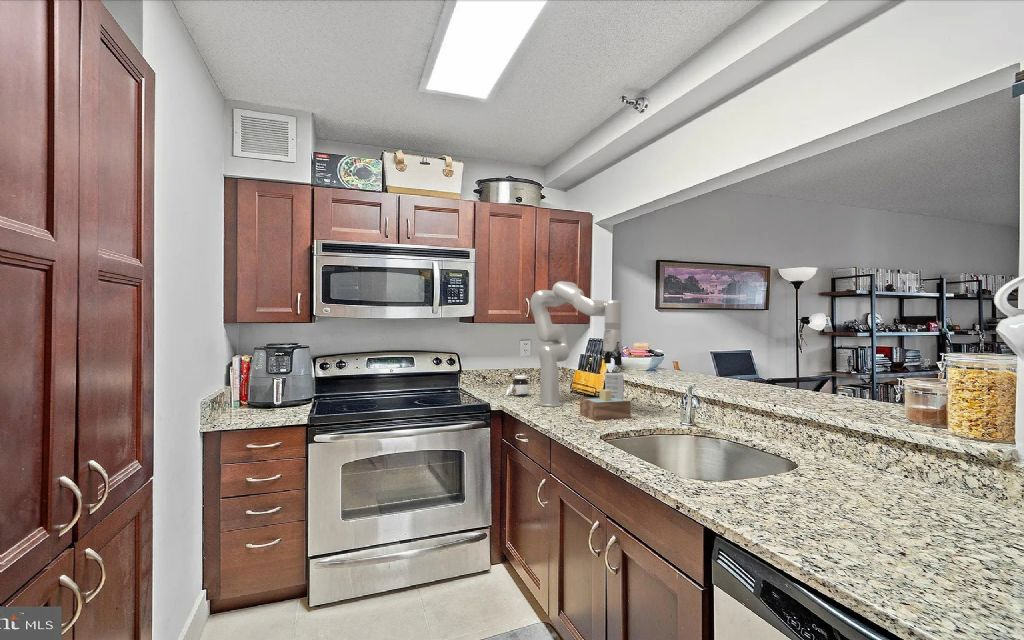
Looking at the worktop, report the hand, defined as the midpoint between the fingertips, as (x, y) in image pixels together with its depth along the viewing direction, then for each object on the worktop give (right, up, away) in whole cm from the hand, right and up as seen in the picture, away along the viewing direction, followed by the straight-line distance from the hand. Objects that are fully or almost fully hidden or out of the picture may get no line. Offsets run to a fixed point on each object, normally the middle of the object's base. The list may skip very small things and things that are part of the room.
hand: (612, 364), depth 219 cm
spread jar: (-44, -24, +58) cm, 77 cm away
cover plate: (-4, -18, -2) cm, 18 cm away
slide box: (-4, -24, -2) cm, 24 cm away
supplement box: (+6, -24, +26) cm, 36 cm away
